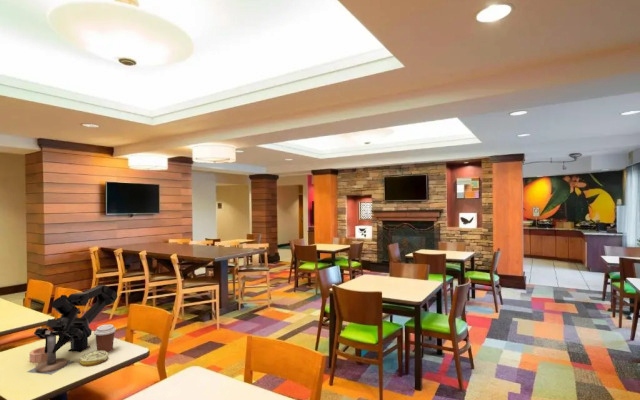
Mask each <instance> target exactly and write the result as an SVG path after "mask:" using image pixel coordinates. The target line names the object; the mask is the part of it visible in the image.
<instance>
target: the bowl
mask: <svg viewBox="0 0 640 400" xmlns="http://www.w3.org/2000/svg"><path fill="white" fill-rule="evenodd" d="M44 351H45V346H42V347H41V346H40V347H38V348H35V349H32V350H31V351H30V352H29V363H31V364H39V363H41V362H43V361H46V360H47V353H45V352H44Z"/></svg>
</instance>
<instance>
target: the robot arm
mask: <svg viewBox="0 0 640 400" xmlns="http://www.w3.org/2000/svg"><path fill="white" fill-rule="evenodd" d="M95 297H96V298H97V300H96V302H95V303H94V304H93V305H92V306H91V307H90V308H89V309H88V310H87V311H86V312H85V313H84V314H83V315H82V316H81V317H78V318H75V317H76V315H77V314H78V315H81V313H82V312H81V310H80V308H79V307H83V306H85V305H86V304H88V303H89V300H91V299H94V298H95ZM117 298H118V293H117V292H116V291H115V290H114V289H112V288H110V287H109V286H108V285H106V284H98V285H95V286H94V287H92V288H90V289H86V290H85V291H82V292H74V293H73V292H72V293H71V294H69V295H68V296H67V295H66V294H61V295H60V296H59V297H57V298H55V299H54V300H53V301H52V302H51V307H52V308H53V309H54V310H55V311H56V312H57V313H58V314H60V316H59V317H57V318H56V319H49V318H48V319H47V323H46V326H45V327H38V328H36V329H35V331H34V333H33V335H34V336H36V337H37V338H38V339H41V340H45V344H44V345H45V346H44V347H45V351H44V352H45V353H47V337H48V336H51V335H56V337H58V338H57V339H58V340H56V345H55V347H54V349H53V352H52V353H55V352H56V353H57V352H58V351H59V350H60V349H61V348H62V347H63V346H65V345H66V344H67V343H69V342H70V349H68V352H72V353H81V352H83V351H84V350H87V349H89V348H91V345H88V343H89V339H88V338H89V337H90V336H91V335H92V331H93V330H92V329H91V328H90V324H91V323H92V322H93V320H95V318H96V317H97V316H98V315H99V314H100V313H101V312H102V311H103V309H104V308H105V307H107V306H109V305H112V304H113V303H114V302H116V301H117ZM48 328H50V329H51V330H49V329H48Z"/></svg>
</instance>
